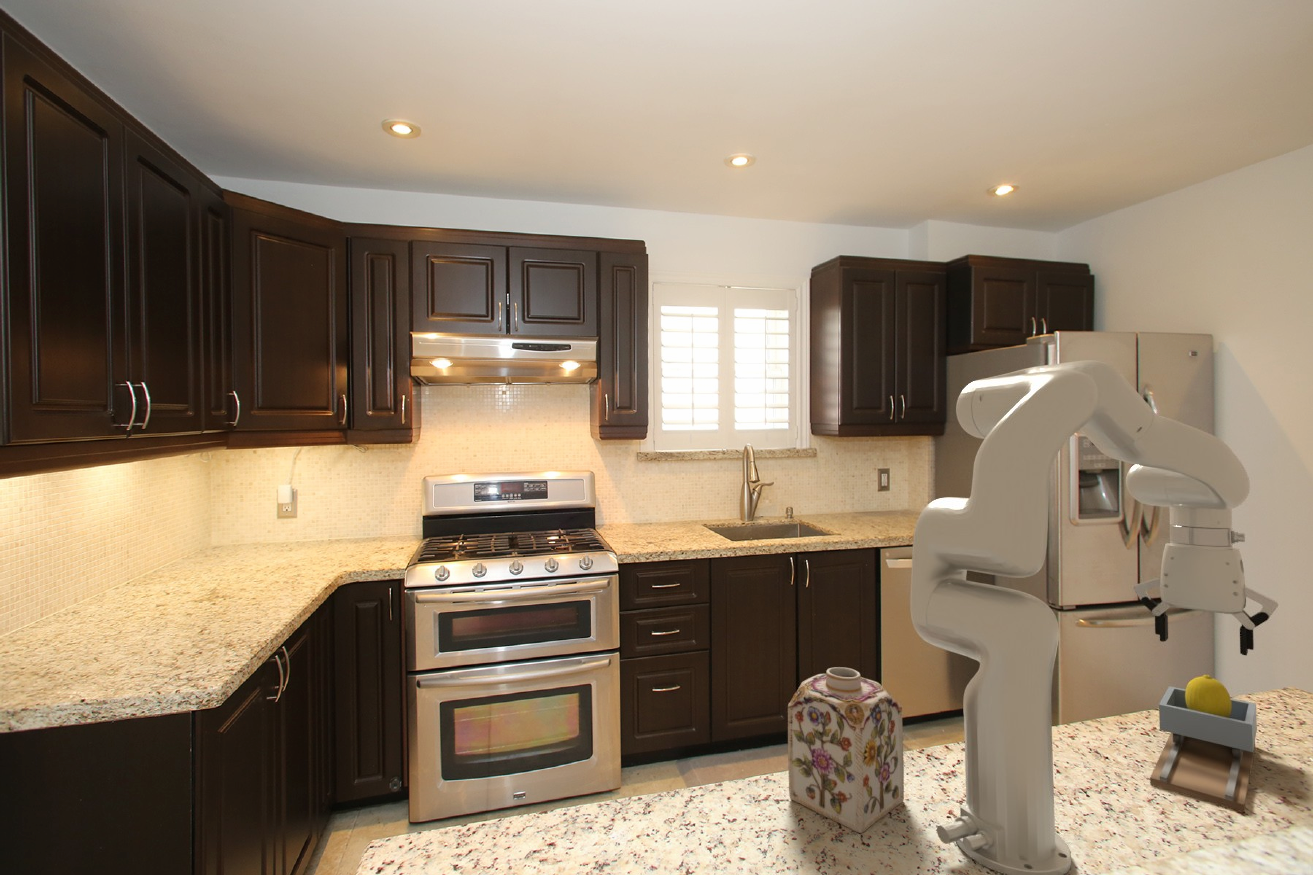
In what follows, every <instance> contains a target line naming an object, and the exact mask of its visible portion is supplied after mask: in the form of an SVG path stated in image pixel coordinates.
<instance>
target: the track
mask: <svg viewBox="0 0 1313 875" xmlns="http://www.w3.org/2000/svg"><path fill="white" fill-rule="evenodd" d="M1255 750H1256V742H1255V743H1254V749H1253V752H1250V751H1246V750H1242V749H1241V758H1240V759H1238V758H1234V757H1233V754H1232V747H1229V746H1225V745H1221V744H1217V743H1212V742H1208V741H1204V740H1200V739H1196V738H1192V737H1187V736H1183V735H1181V743H1180V744H1177V743H1173V733H1171V732H1170V734H1169V735H1168V737H1167V741H1166V743H1165V744H1164V747H1163V749H1162V751H1161V754H1160V755H1159V757H1158V759H1157V762H1156V764H1155V766H1154V768H1153V771H1152V772H1151V775H1150V777H1149V782H1150V784H1149V785H1150V786H1153V785H1154V787H1157V788H1160V789H1164V790H1166V791H1167V790H1168V791H1171V792H1174V793H1178V794H1182V795H1184V796H1189V797H1191V798H1193V799H1194V798H1195V799H1198V800H1202V801H1205V802H1208V803H1212V804H1216V805H1219V806H1222V807H1226V808H1228V809H1233V810H1236V811H1239V812H1242V813H1245V812H1246V807H1247V806H1246V805H1247V799H1248V798H1247V797H1248V794H1249V787H1250V780H1251V774H1252V771H1253V770H1252V769H1253V764H1254V756H1255Z"/></svg>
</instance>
